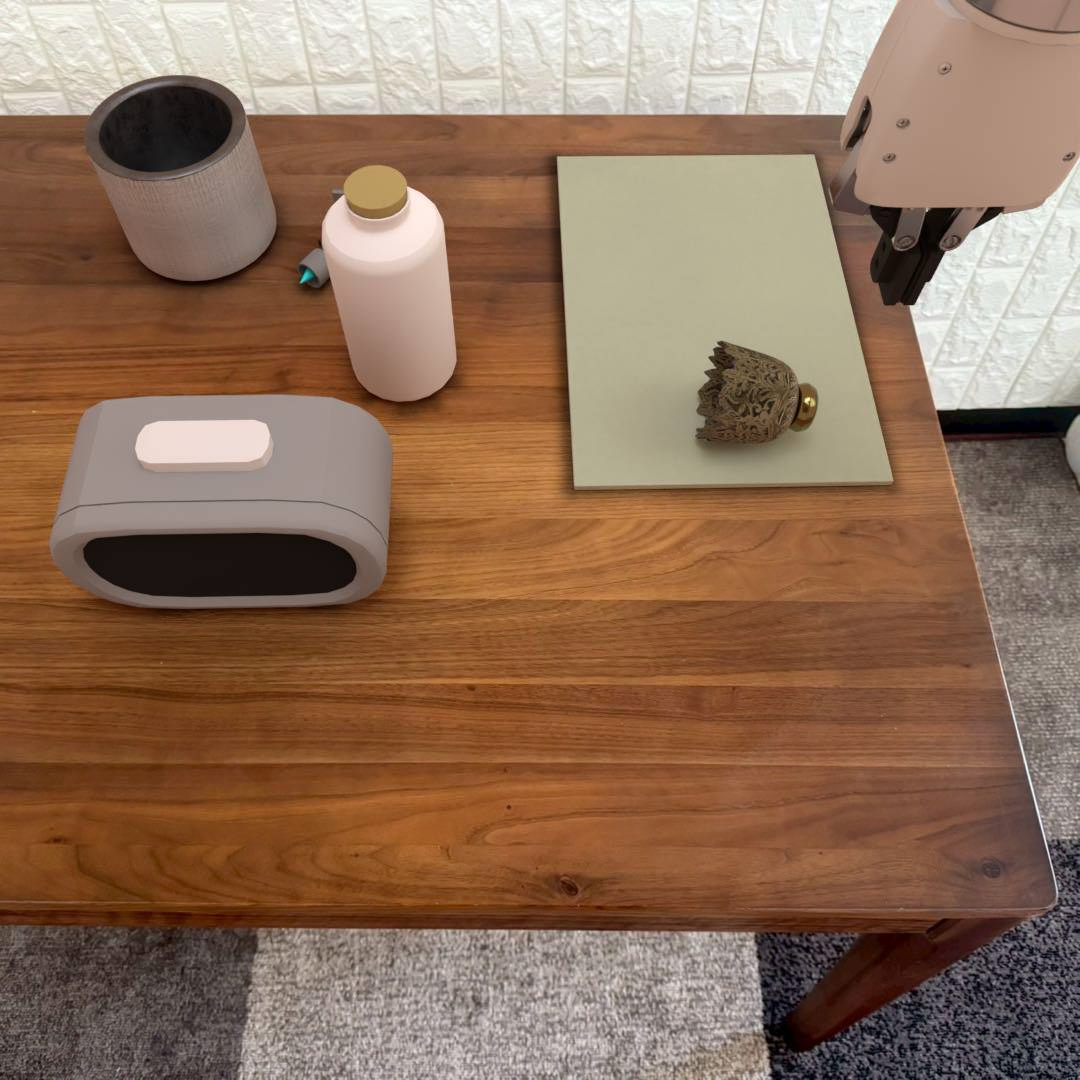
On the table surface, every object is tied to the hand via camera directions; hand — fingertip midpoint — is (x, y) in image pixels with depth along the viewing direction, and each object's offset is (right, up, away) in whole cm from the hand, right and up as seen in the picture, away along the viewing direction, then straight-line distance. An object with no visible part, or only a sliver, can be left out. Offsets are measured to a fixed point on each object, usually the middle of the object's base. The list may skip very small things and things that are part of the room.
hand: (893, 286), depth 54 cm
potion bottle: (-31, 0, +24) cm, 39 cm away
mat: (-6, +5, +27) cm, 28 cm away
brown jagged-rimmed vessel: (+1, -4, +18) cm, 18 cm away
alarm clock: (-40, -15, +15) cm, 46 cm away
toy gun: (-34, +9, +29) cm, 46 cm away
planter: (-49, +13, +30) cm, 59 cm away
